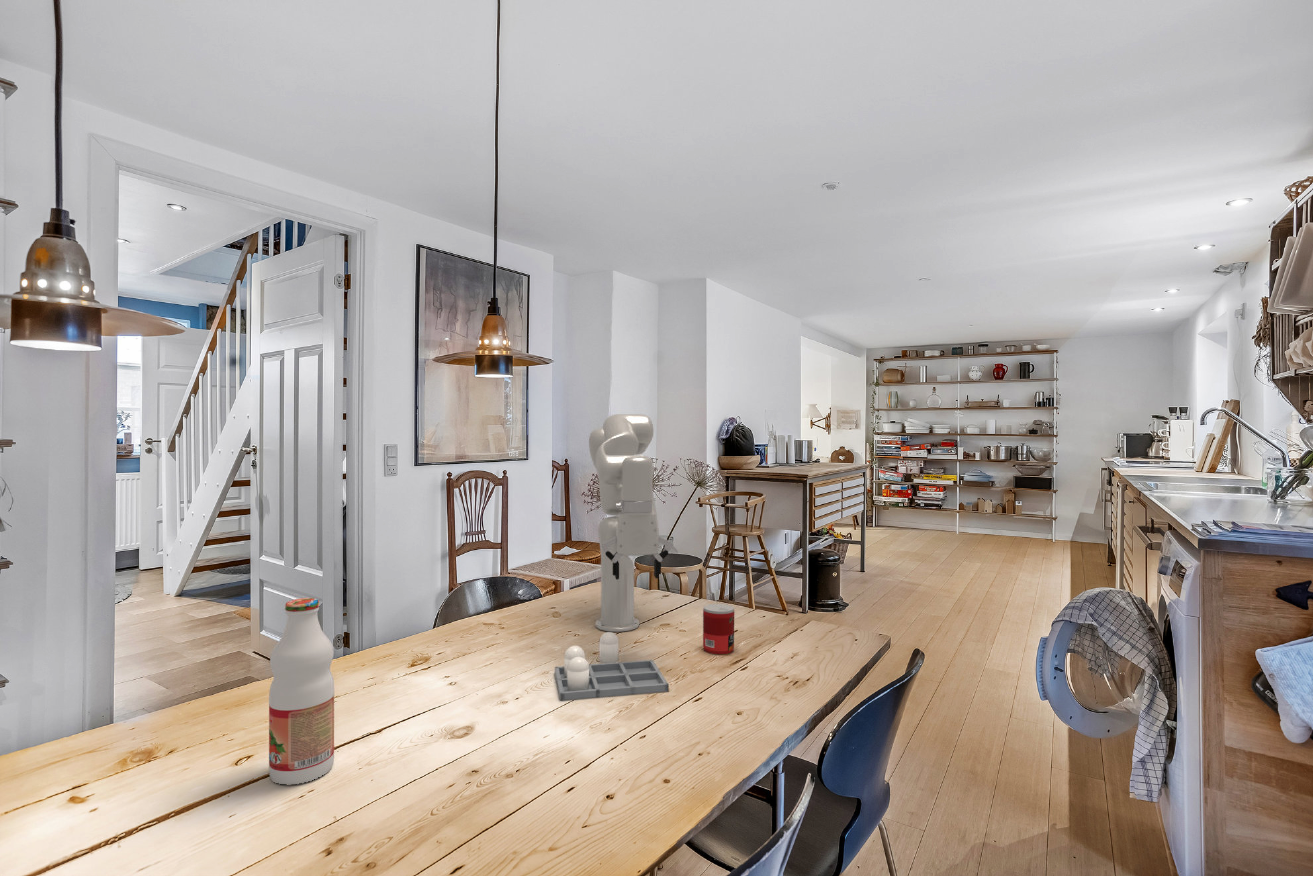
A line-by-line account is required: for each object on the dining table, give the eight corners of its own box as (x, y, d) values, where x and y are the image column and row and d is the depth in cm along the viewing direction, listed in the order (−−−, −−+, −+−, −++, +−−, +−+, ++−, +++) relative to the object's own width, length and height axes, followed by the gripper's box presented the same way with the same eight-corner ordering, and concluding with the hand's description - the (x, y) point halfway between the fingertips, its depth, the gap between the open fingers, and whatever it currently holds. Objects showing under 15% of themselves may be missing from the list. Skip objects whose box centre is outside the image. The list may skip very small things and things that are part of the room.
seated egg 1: (563, 675, 148) (563, 643, 148) (583, 674, 150) (583, 642, 149) (565, 683, 144) (565, 650, 144) (586, 681, 145) (586, 649, 145)
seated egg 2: (566, 688, 141) (566, 654, 141) (587, 686, 142) (587, 653, 142) (568, 696, 137) (568, 661, 137) (590, 694, 138) (590, 660, 138)
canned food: (735, 655, 164) (735, 611, 164) (703, 654, 165) (704, 611, 165) (732, 645, 172) (732, 603, 172) (702, 644, 172) (702, 603, 172)
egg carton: (554, 675, 150) (554, 667, 150) (652, 668, 155) (652, 659, 155) (560, 703, 135) (560, 693, 135) (668, 693, 140) (668, 684, 140)
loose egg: (598, 659, 161) (598, 630, 161) (616, 658, 162) (616, 629, 162) (600, 666, 156) (600, 635, 156) (619, 664, 157) (620, 634, 157)
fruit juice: (320, 785, 103) (320, 608, 103) (257, 788, 102) (257, 609, 102) (343, 756, 112) (343, 593, 112) (285, 758, 111) (285, 594, 111)
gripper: (602, 509, 154) (602, 582, 154) (674, 509, 157) (674, 580, 157) (600, 506, 162) (600, 575, 162) (669, 505, 164) (669, 573, 164)
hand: (636, 577), depth 159 cm, fingers open, 9 cm apart
